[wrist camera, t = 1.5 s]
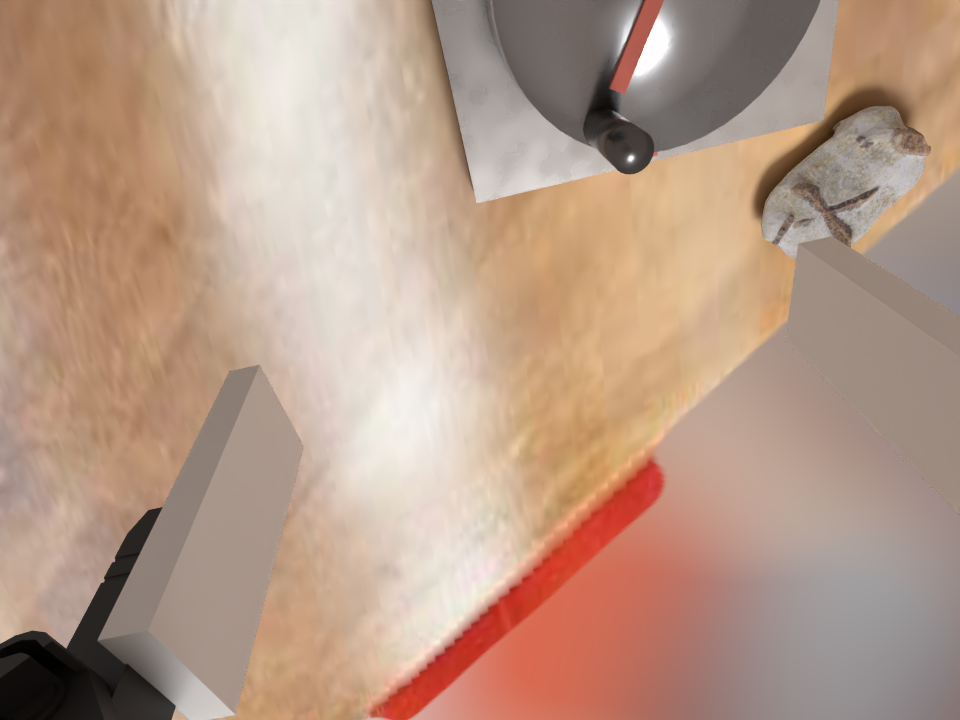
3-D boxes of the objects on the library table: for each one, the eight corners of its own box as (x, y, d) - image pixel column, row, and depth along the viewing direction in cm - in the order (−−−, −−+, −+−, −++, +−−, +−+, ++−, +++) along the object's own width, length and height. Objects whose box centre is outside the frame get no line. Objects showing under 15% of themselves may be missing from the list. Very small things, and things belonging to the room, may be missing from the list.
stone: (800, 270, 39) (822, 287, 37) (734, 214, 36) (754, 228, 34) (923, 153, 35) (956, 165, 33) (860, 80, 32) (892, 87, 30)
